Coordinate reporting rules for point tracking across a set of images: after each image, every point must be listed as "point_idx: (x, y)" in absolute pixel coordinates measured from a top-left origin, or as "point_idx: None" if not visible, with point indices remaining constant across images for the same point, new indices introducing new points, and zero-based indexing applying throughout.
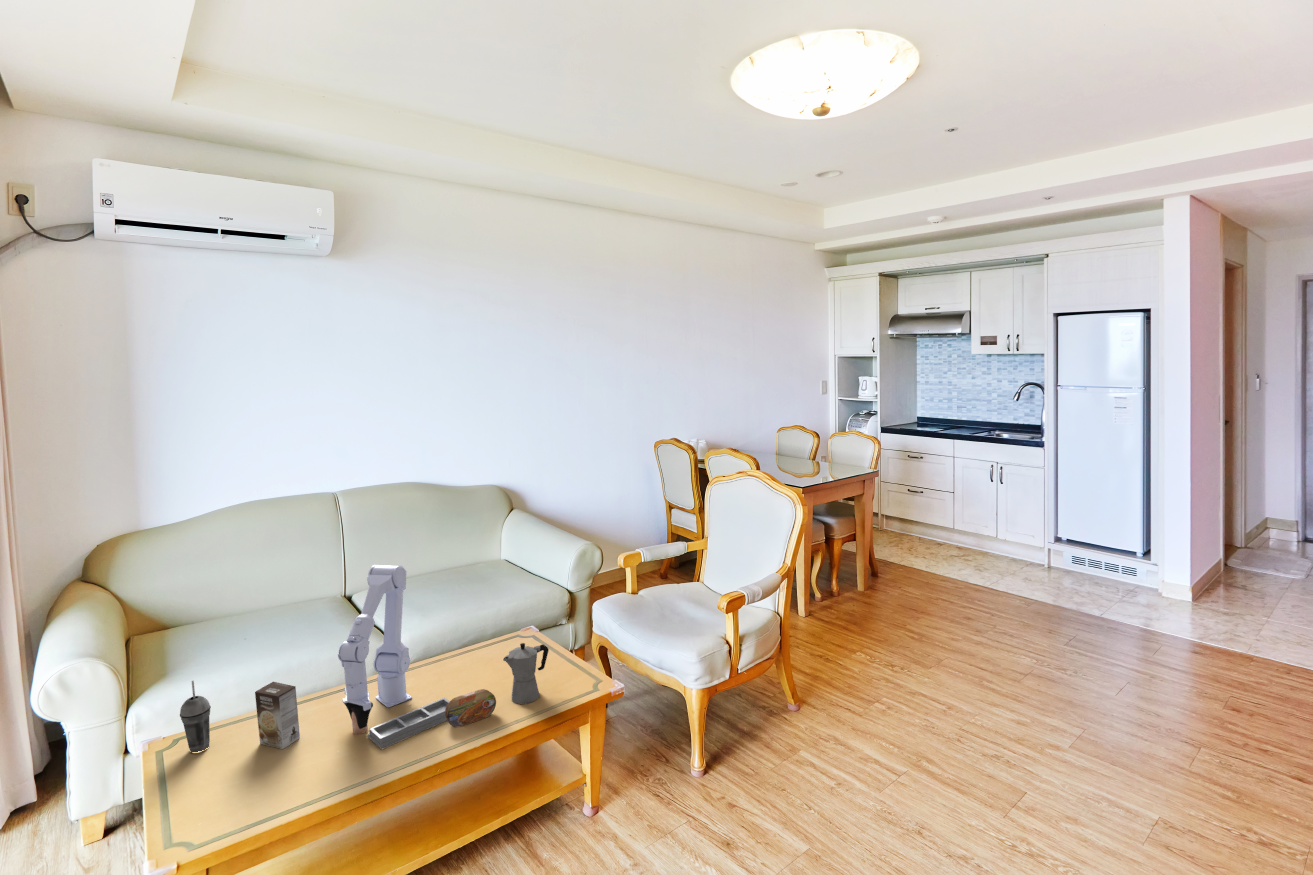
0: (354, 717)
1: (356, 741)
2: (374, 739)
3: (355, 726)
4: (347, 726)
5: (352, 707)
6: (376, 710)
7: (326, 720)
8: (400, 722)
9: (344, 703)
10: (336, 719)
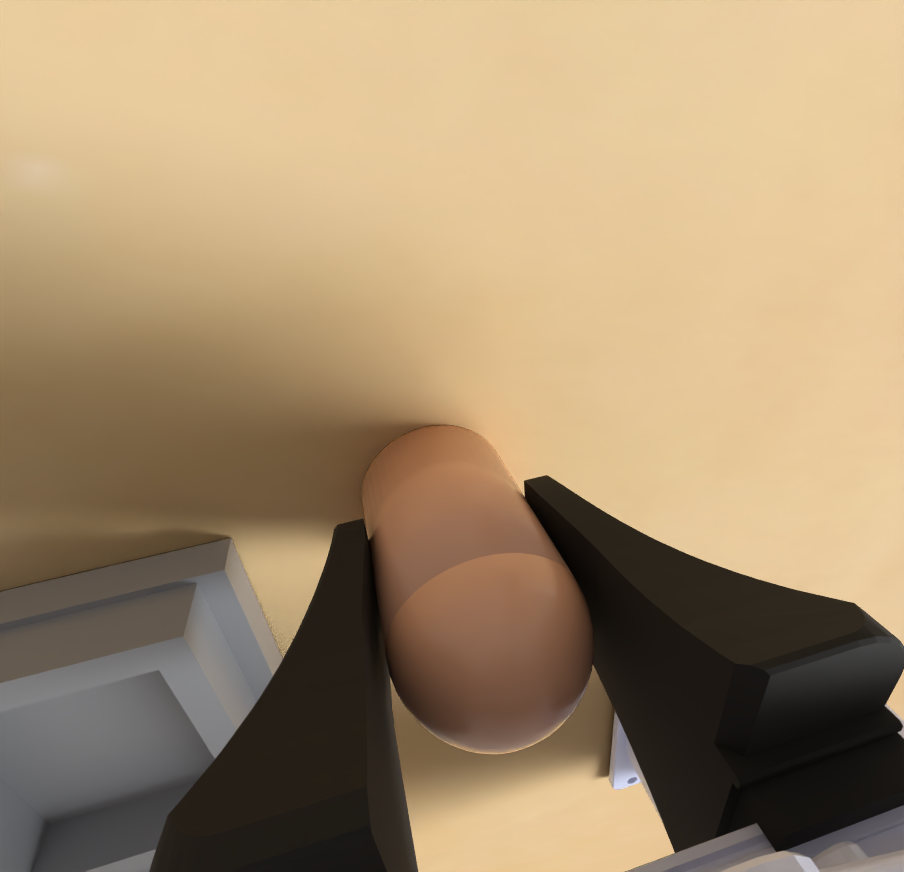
0: (426, 588)
1: (201, 429)
2: (19, 616)
3: (398, 498)
4: (604, 395)
5: (640, 643)
6: None
7: (894, 234)
8: (147, 851)
9: (784, 650)
10: (818, 327)
